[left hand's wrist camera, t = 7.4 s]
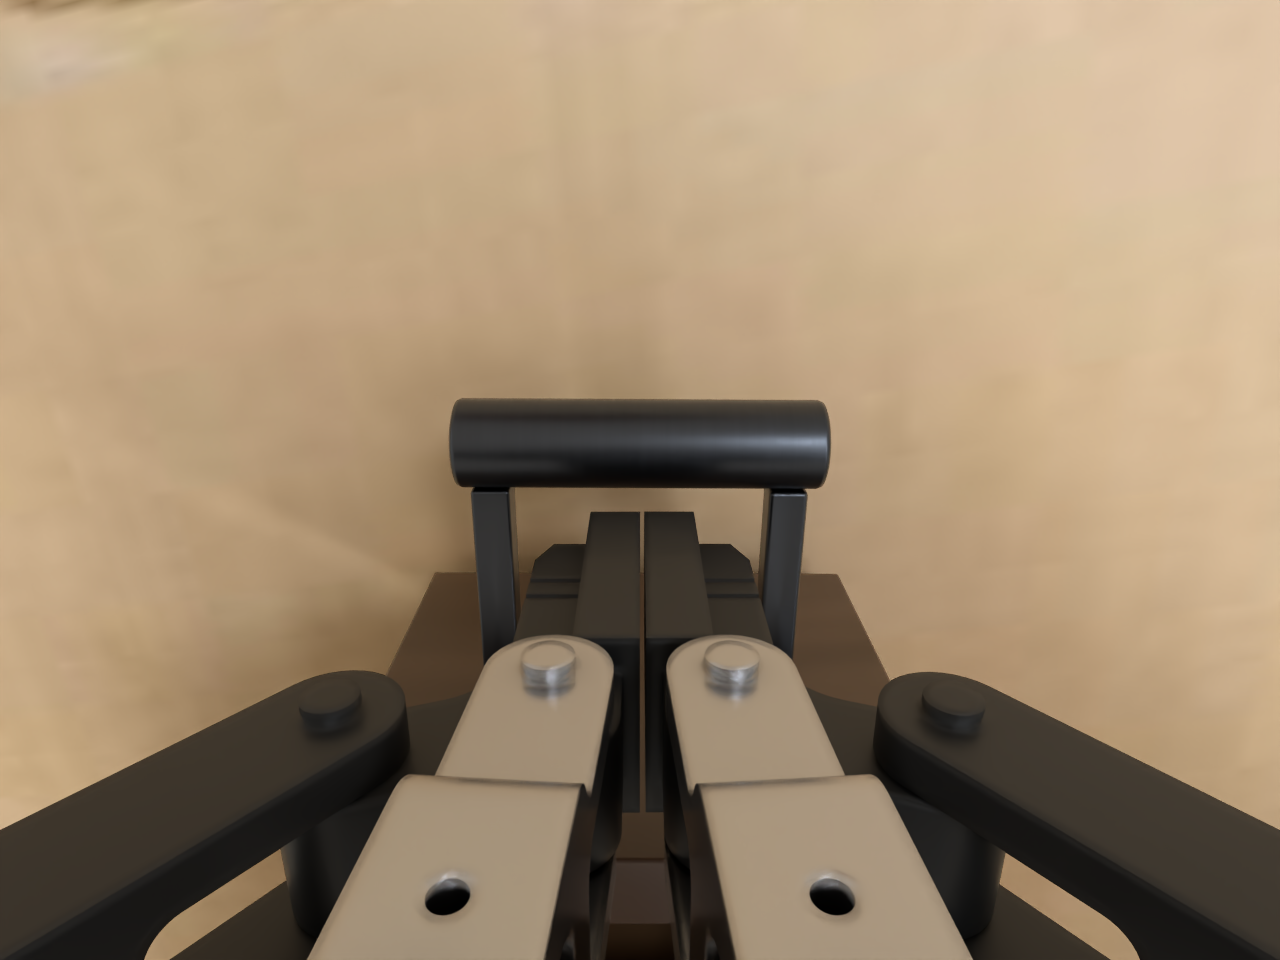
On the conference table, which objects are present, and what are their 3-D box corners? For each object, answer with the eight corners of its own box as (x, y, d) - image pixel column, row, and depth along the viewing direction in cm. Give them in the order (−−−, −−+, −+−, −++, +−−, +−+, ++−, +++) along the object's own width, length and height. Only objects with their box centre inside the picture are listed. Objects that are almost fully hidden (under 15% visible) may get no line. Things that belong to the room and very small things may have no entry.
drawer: (412, 334, 17) (221, 484, 9) (863, 337, 17) (1059, 488, 9) (486, 1121, 26) (423, 1532, 18) (778, 1121, 26) (840, 1529, 18)
